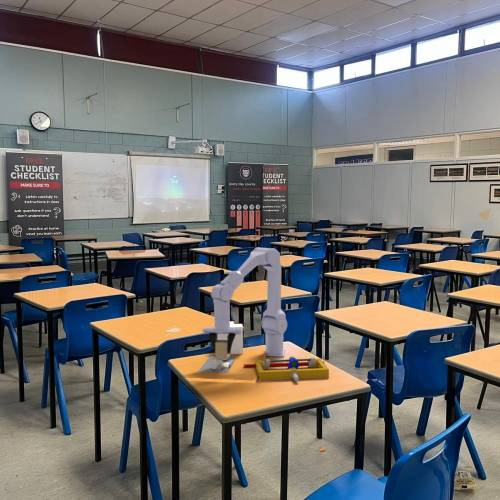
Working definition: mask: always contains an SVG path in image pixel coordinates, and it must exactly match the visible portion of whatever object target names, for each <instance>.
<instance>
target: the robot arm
mask: <svg viewBox="0 0 500 500" xmlns="http://www.w3.org/2000/svg"><path fill="white" fill-rule="evenodd" d="M257 266H262V267H263V268H264V269H265V270H267V293H266V294H267V297H266V299H267V302H266V310H264V311H263V313H262V319H261V327H262V329H263V330H264V333H265V353H266V356H265V357H276V358H278V357H282V358H283V357H284V356H285V353H286V349H285V348H284V334H285V332H286V331H287V329H288V321H287V318H286V313H285V311H283V310H282V308H281V307H282V306H281V305H282V263H281V253H280V252H279V251H278V250H277V249H276V248H275V247H274V248H272V247H271V248H268V247H259V246H258V247H255V248H254V249H253V250H252V251H251V252H250V255H249V257H248V258H247V259H246V260H245V261H244V262H243V263H242V265H241V266H240V267H239V268H238V269H237V270H233V271H230V272H228V275H227V276H226V277H225V278H224V279H223V280H221V281H220V283H218V284H216V285H214V286H213V287H212V289H211V291H210V297H211V298H212V302H213V310H214V313H213V315H214V316H213V317H214V319H213V320H214V326H213V327H210V326H209V327H203V328H202V334H203V335H206V334H207V335H208V339H209V340H210V342H211V344H212V348H213V351H214V354H215V342H216V340H217V335H218V334H229V335H228V336H227V339H228V354H230V353H231V347H232V343H233V340H234V338H235V336H236V334H238V335H241V334H242V329H240V328H230V322H231V321H230V319H231V318H230V317H231V316H230V315H231V314H230V313H231V312H230V311H231V310H230V309H231V307H230V306H231V305H230V304H231V303H230V301H231V300H232V298H233V296H234V293H235V291H237V289H238V288H239V287H240V286H241V284H243V283H244V278H245V276H247V274H249V273H250V272H251V271H253V270H254V269H255V268H256V267H257ZM230 355H231V354H230Z"/></svg>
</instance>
